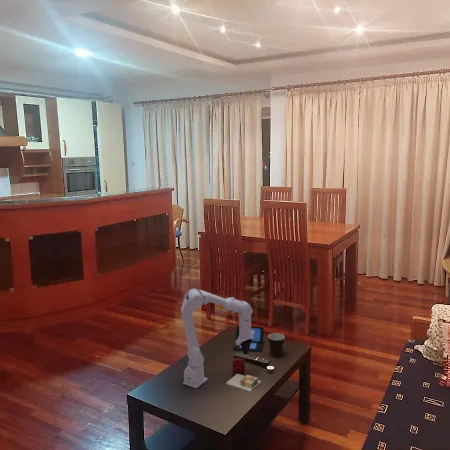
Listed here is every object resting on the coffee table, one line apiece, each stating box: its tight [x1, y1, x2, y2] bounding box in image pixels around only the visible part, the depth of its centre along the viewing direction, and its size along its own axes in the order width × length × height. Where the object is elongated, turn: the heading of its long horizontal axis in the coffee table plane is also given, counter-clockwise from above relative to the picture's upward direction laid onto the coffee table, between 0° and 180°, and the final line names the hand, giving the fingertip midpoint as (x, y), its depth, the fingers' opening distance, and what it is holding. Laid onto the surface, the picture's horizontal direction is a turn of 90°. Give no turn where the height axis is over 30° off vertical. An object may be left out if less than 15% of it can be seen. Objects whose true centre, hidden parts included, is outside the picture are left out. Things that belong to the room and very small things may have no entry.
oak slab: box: [240, 374, 259, 389], centre depth 196 cm, size 6×2×6 cm
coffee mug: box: [267, 332, 286, 358], centre depth 226 cm, size 12×9×10 cm
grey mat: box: [225, 373, 262, 393], centre depth 198 cm, size 10×13×1 cm
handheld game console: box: [232, 325, 265, 353], centre depth 236 cm, size 16×13×9 cm
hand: (245, 353), depth 206 cm, fingers closed
